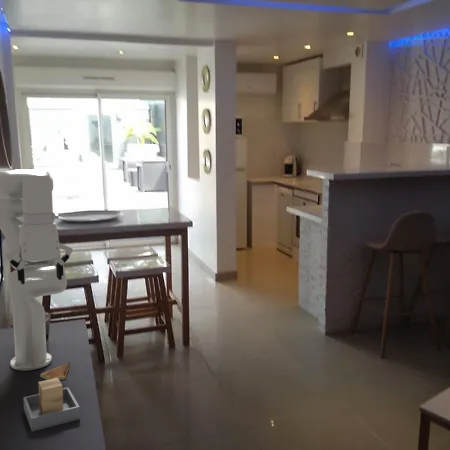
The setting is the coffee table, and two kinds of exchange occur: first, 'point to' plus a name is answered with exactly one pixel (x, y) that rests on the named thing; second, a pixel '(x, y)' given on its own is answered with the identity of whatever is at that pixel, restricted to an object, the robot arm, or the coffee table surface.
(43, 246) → the robot arm
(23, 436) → the coffee table surface
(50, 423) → the tray
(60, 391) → the oak block
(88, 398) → the coffee table surface
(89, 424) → the coffee table surface
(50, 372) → the shard
